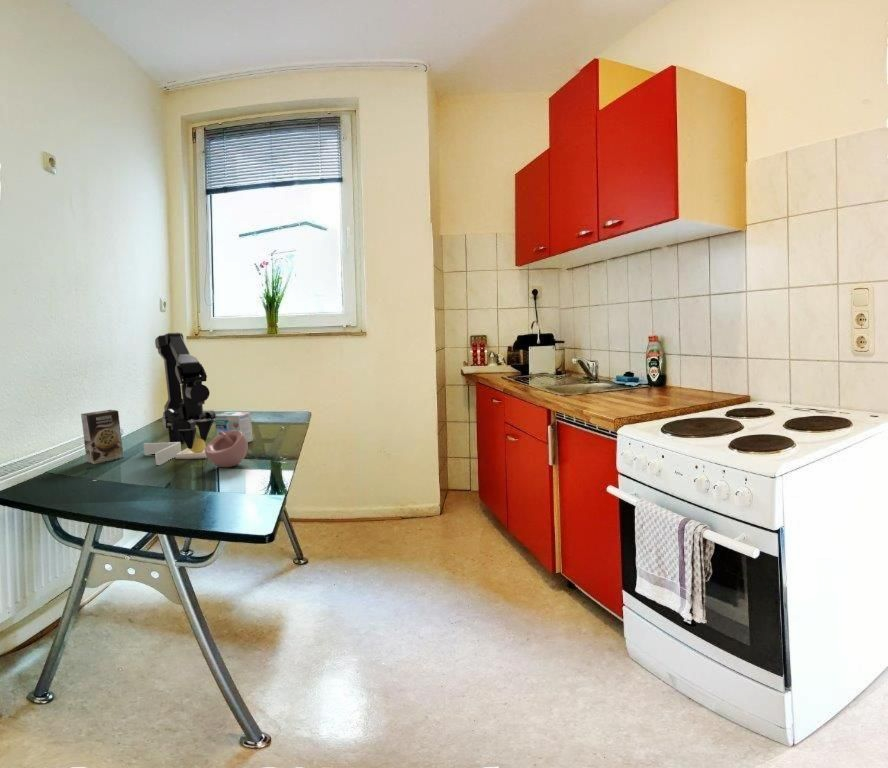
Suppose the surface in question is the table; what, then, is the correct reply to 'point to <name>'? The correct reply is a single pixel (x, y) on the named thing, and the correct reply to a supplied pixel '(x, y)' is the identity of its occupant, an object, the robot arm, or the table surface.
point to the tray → (190, 454)
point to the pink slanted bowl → (227, 449)
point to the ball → (198, 445)
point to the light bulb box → (235, 423)
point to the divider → (162, 450)
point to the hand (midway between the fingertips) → (197, 445)
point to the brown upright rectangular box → (102, 436)
